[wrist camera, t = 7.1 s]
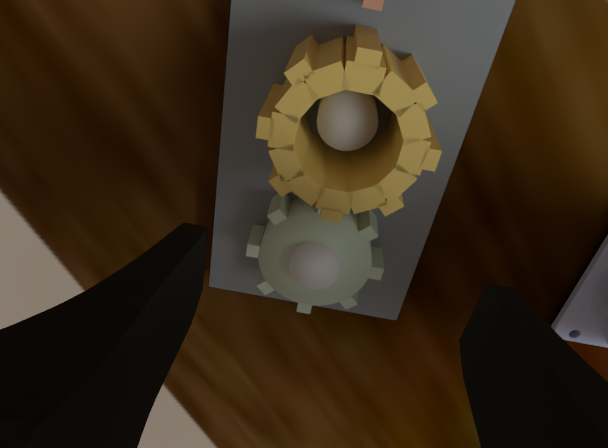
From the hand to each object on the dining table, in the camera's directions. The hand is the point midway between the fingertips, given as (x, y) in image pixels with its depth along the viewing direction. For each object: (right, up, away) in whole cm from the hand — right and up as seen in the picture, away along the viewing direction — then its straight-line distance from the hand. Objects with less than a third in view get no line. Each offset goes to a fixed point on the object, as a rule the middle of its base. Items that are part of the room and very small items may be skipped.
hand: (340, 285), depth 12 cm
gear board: (+1, +6, +6) cm, 9 cm away
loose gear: (+1, +6, +5) cm, 8 cm away
